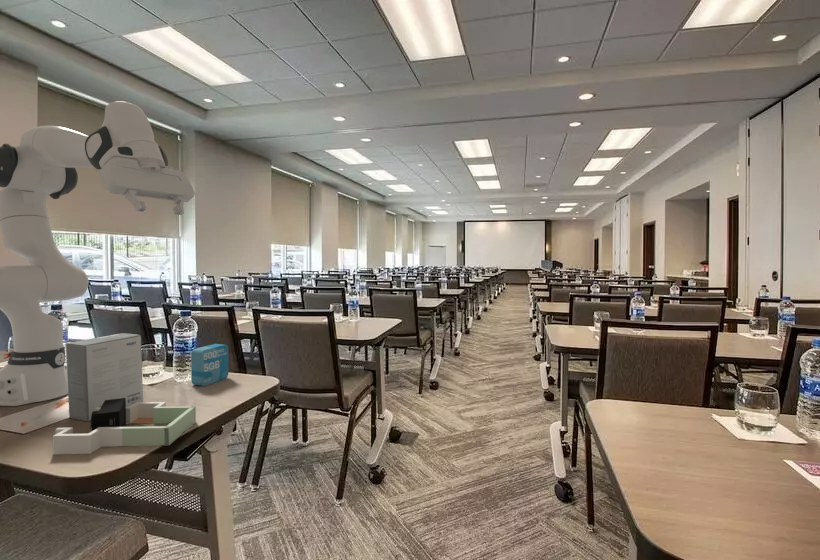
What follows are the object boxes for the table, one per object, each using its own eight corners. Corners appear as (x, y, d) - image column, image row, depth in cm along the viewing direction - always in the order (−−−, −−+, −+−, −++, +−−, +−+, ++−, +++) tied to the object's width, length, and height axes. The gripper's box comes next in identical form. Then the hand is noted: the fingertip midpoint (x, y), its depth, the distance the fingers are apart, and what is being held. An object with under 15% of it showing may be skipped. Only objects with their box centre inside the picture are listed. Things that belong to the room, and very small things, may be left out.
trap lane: (43, 454, 90) (42, 436, 90) (106, 417, 111) (106, 402, 111) (161, 452, 92) (160, 434, 92) (201, 416, 113) (201, 401, 113)
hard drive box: (125, 400, 125) (124, 332, 124) (144, 403, 122) (143, 334, 121) (67, 418, 111) (65, 342, 110) (86, 422, 108) (84, 344, 107)
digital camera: (99, 428, 105) (99, 400, 104) (126, 424, 107) (125, 397, 107) (90, 444, 96) (90, 414, 95) (120, 440, 98) (119, 410, 98)
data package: (201, 387, 138) (201, 350, 138) (191, 385, 140) (190, 349, 139) (228, 377, 150) (228, 343, 149) (218, 376, 151) (218, 342, 150)
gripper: (175, 176, 114) (193, 221, 112) (90, 161, 96) (109, 215, 94) (189, 163, 111) (207, 209, 109) (104, 145, 93) (123, 200, 91)
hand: (161, 212), depth 101 cm, fingers open, 8 cm apart
